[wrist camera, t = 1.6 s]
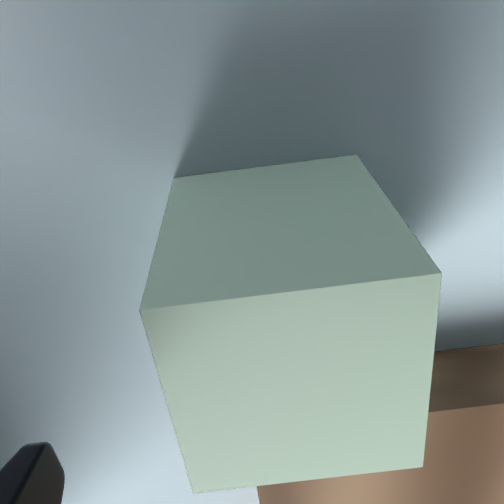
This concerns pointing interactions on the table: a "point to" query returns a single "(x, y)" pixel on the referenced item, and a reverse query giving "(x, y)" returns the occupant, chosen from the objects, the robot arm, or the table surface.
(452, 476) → the walnut base
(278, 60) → the table surface
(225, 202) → the sage block
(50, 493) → the robot arm
